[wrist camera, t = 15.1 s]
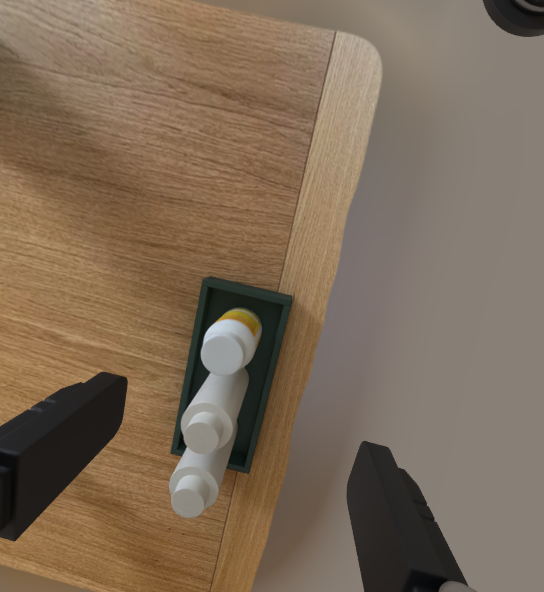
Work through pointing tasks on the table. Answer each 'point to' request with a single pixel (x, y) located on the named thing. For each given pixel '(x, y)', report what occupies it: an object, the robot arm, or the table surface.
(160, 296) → the table surface
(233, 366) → the supplement bottle
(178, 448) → the tray
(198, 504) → the white bottles
